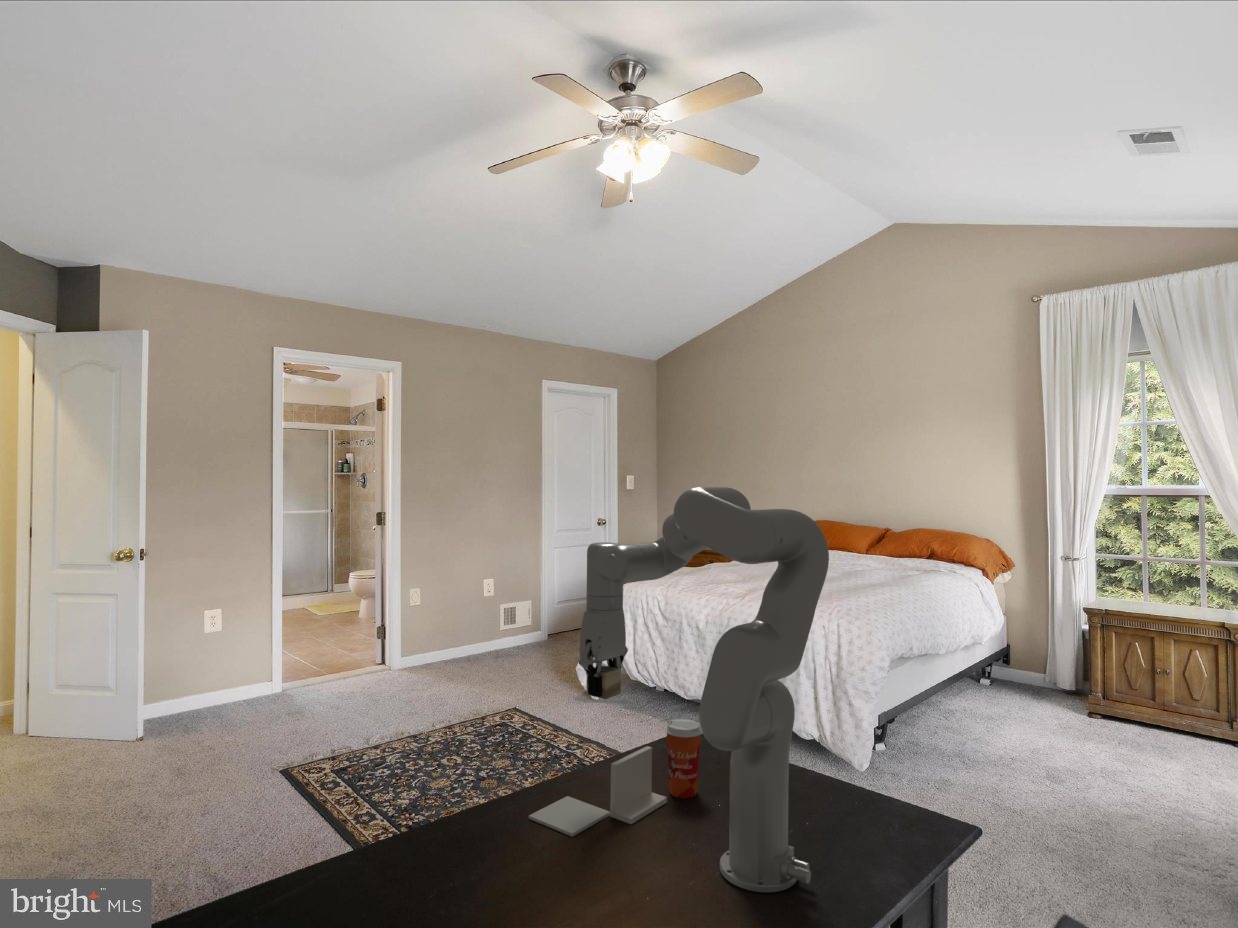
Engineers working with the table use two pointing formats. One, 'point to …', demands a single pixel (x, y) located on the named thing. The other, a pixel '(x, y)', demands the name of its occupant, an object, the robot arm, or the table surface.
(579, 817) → the felt mat
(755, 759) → the robot arm
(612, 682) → the maple cube
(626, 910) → the table surface
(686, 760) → the paper cup
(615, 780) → the screen
